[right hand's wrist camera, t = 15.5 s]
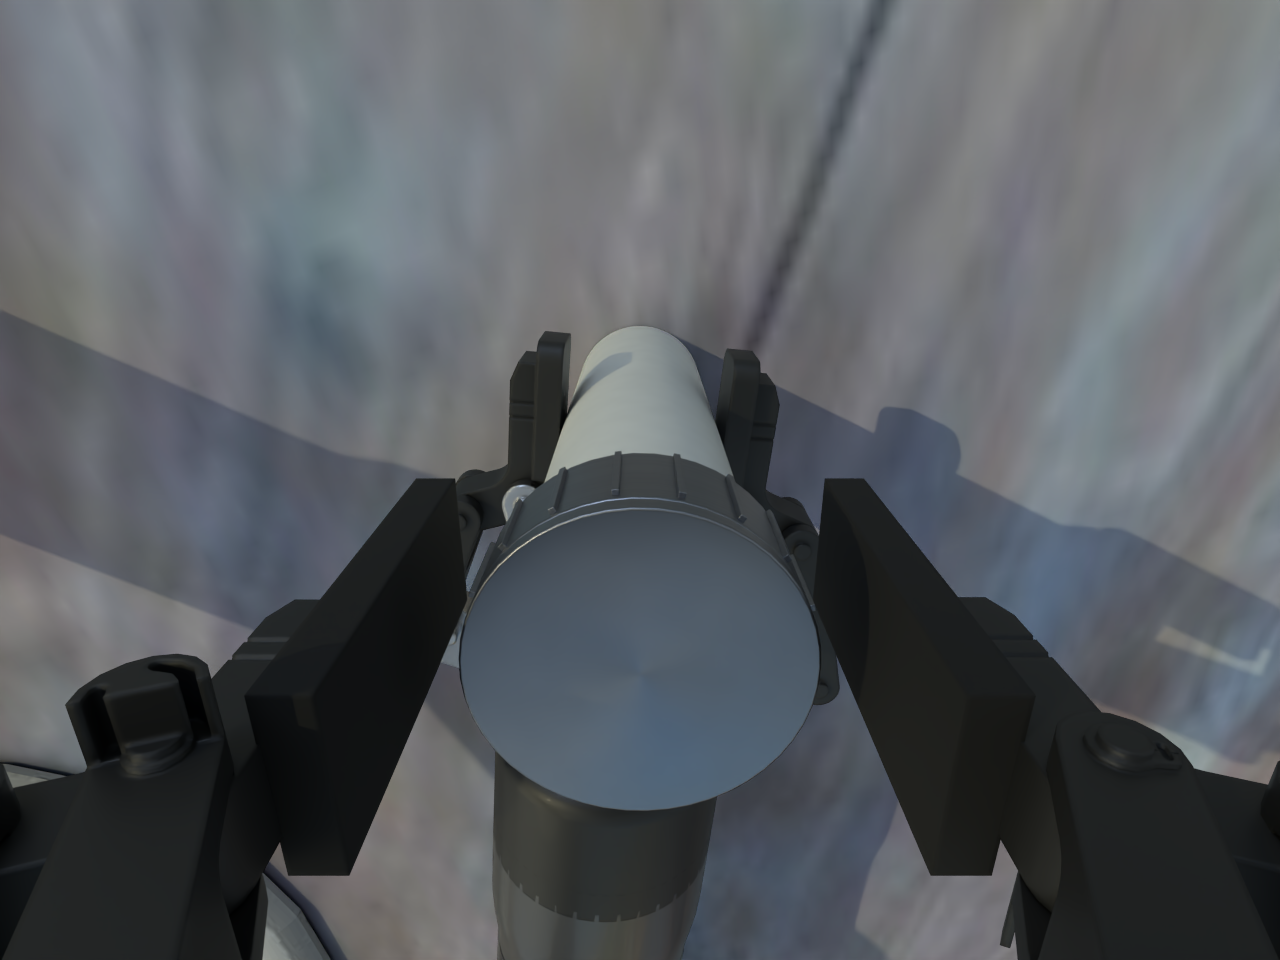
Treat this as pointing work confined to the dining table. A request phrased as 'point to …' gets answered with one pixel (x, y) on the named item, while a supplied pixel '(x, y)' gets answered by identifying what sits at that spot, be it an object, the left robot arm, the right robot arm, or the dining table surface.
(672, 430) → the off-white long cylinder
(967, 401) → the dining table surface
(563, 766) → the lid
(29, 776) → the wall clock
